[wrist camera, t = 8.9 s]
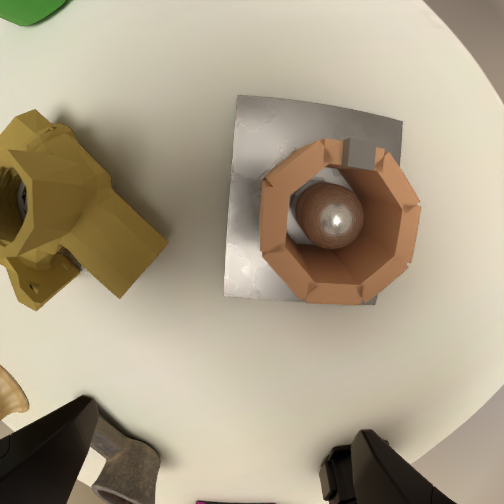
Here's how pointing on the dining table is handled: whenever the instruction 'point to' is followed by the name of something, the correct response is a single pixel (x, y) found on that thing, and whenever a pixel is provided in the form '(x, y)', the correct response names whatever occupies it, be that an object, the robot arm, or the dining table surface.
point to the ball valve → (64, 215)
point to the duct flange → (302, 200)
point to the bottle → (27, 10)
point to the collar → (369, 239)
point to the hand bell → (11, 395)
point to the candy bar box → (215, 503)
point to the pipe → (124, 467)
